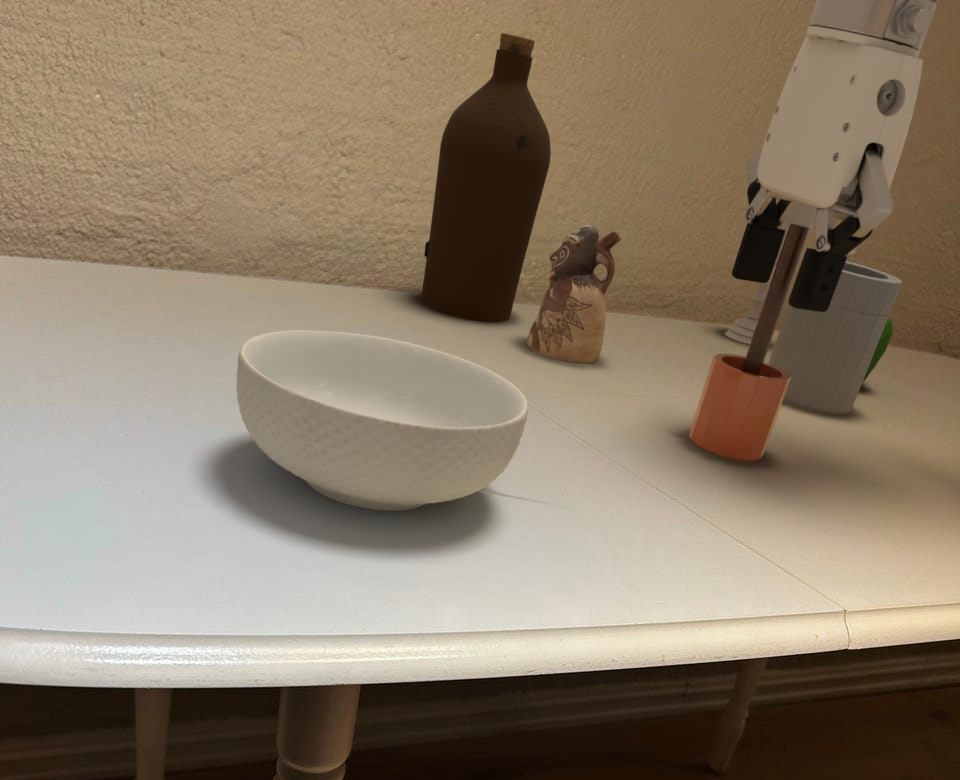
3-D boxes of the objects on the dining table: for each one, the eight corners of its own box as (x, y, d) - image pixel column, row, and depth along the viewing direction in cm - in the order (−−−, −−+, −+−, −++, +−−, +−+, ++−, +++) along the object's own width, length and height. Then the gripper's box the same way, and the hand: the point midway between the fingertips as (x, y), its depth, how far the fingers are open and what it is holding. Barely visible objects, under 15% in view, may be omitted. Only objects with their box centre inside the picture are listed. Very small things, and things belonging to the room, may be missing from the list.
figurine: (537, 338, 103) (566, 212, 98) (604, 359, 102) (638, 231, 96) (515, 351, 97) (545, 217, 91) (587, 373, 96) (622, 238, 90)
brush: (738, 443, 85) (813, 226, 77) (743, 454, 83) (821, 231, 74) (707, 436, 85) (779, 218, 76) (712, 447, 83) (786, 223, 74)
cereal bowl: (559, 522, 64) (588, 413, 61) (346, 571, 53) (367, 440, 50) (385, 421, 74) (402, 321, 70) (173, 444, 62) (180, 327, 59)
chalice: (711, 337, 122) (763, 172, 113) (717, 327, 127) (767, 169, 118) (772, 354, 120) (829, 189, 111) (776, 343, 126) (831, 185, 117)
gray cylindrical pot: (836, 397, 108) (885, 270, 102) (859, 425, 100) (914, 288, 94) (752, 379, 108) (797, 249, 101) (769, 405, 100) (819, 266, 93)
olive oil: (534, 321, 110) (594, 54, 97) (477, 330, 101) (536, 40, 89) (453, 291, 114) (502, 32, 102) (393, 298, 106) (438, 17, 93)
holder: (752, 446, 87) (781, 364, 83) (766, 472, 82) (798, 386, 78) (682, 431, 87) (709, 348, 83) (692, 456, 81) (721, 369, 78)
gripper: (1004, 47, 64) (889, 335, 73) (835, 26, 77) (756, 271, 86) (910, 20, 61) (802, 322, 70) (752, 3, 74) (679, 258, 83)
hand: (777, 292), depth 78 cm, fingers open, 7 cm apart
